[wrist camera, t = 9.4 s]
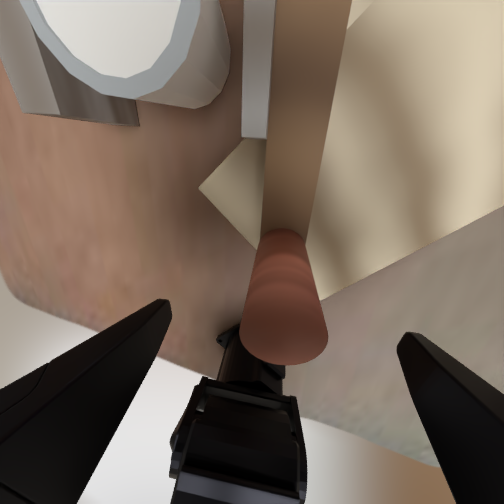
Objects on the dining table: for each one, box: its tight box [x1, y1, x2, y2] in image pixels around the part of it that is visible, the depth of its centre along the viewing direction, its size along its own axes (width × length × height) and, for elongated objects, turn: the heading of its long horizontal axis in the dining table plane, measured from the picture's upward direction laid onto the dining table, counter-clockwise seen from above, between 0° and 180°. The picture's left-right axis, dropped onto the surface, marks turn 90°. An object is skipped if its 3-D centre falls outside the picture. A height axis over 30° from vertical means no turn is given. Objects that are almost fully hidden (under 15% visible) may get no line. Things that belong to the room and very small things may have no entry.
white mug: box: [19, 0, 231, 109], centre depth 9 cm, size 7×7×7 cm
